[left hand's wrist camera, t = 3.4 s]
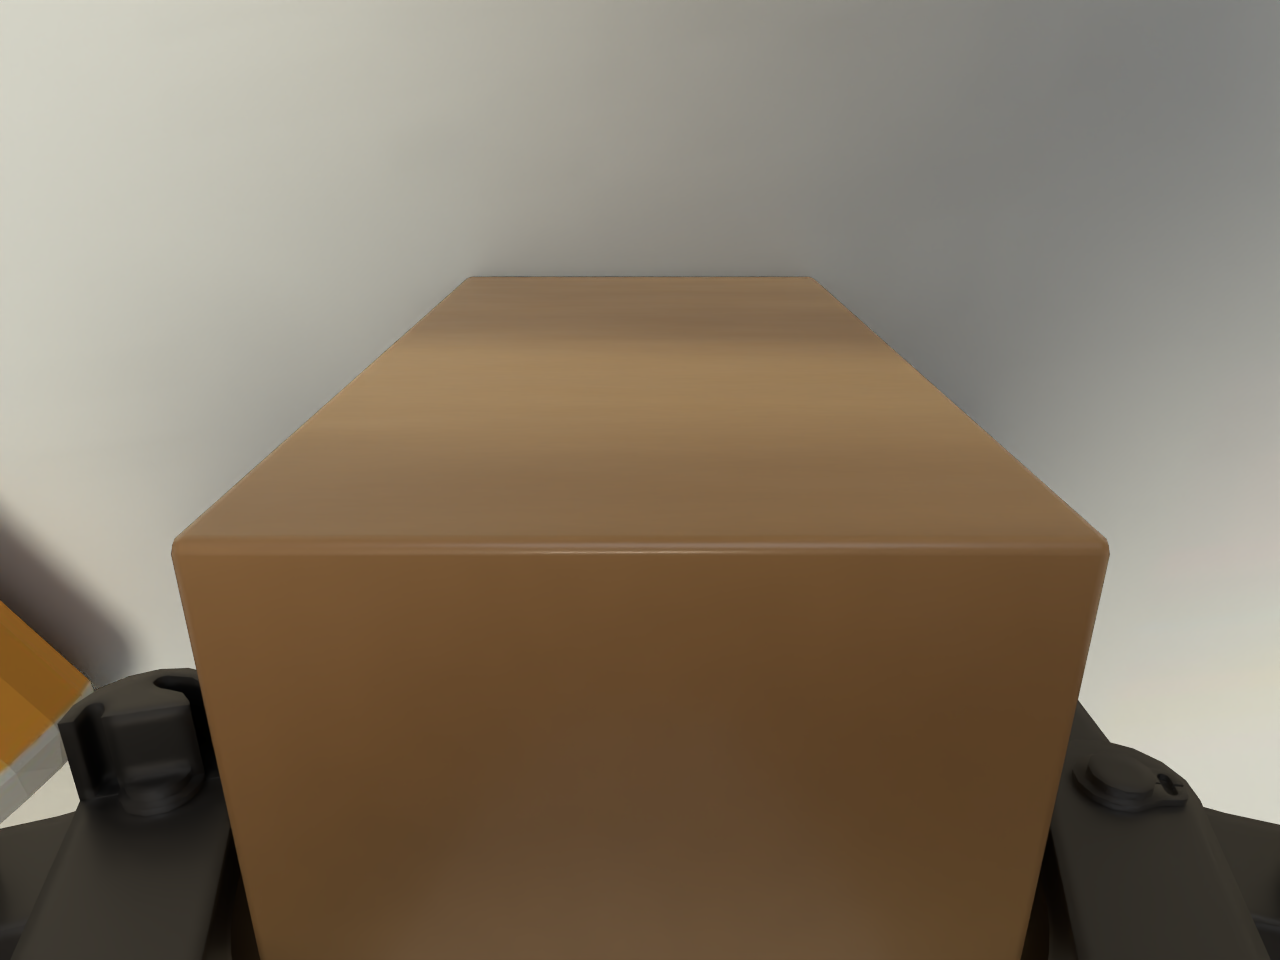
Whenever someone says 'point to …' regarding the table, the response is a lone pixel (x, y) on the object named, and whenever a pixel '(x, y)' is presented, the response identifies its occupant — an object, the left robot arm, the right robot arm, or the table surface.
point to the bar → (640, 642)
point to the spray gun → (31, 709)
